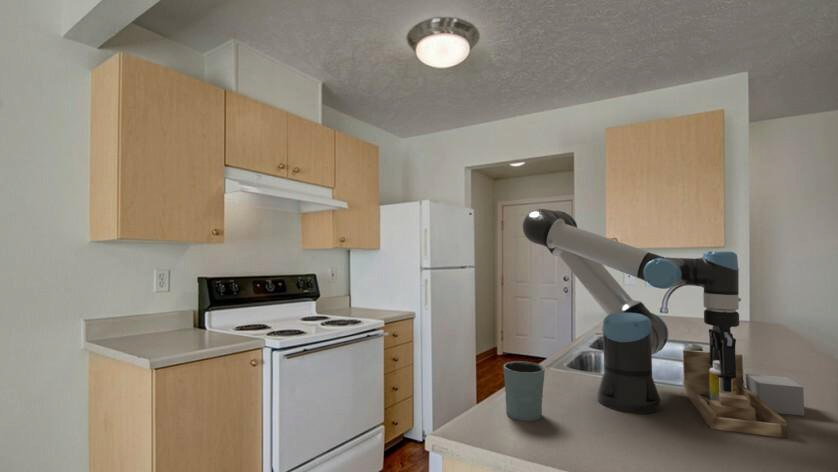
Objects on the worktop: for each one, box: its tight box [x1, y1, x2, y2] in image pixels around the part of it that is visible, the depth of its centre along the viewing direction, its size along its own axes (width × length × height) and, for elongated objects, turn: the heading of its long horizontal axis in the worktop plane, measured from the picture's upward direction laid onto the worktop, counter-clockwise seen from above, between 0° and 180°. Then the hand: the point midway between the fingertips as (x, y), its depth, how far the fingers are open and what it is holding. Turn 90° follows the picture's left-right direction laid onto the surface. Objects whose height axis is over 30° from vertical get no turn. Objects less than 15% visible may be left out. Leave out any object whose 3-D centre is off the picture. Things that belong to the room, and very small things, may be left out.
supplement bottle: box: [709, 360, 736, 401], centre depth 110 cm, size 6×6×10 cm
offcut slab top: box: [709, 399, 757, 421], centre depth 98 cm, size 8×4×2 cm, turn 75°
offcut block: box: [719, 393, 748, 409], centre depth 98 cm, size 5×3×2 cm, turn 62°
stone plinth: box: [745, 373, 805, 416], centre depth 109 cm, size 9×9×7 cm
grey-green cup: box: [503, 361, 546, 422], centre depth 105 cm, size 10×10×12 cm
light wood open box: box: [682, 349, 788, 439], centre depth 107 cm, size 14×28×12 cm, turn 159°
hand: (722, 399), depth 109 cm, fingers closed on supplement bottle, 6 cm apart
